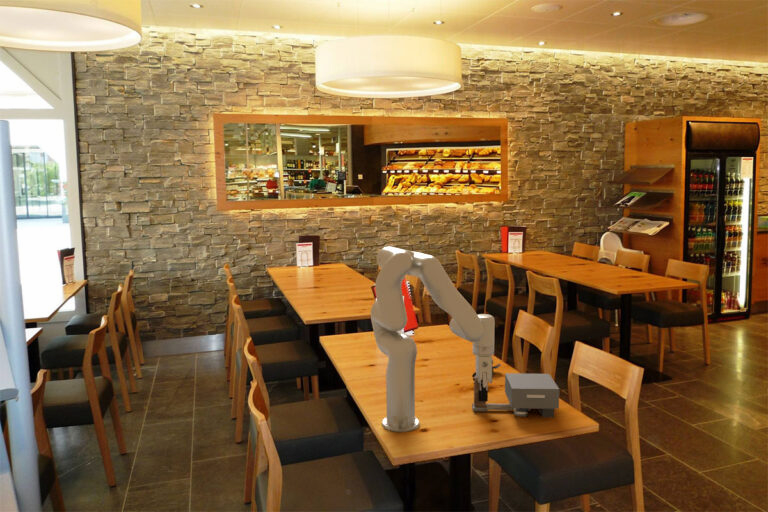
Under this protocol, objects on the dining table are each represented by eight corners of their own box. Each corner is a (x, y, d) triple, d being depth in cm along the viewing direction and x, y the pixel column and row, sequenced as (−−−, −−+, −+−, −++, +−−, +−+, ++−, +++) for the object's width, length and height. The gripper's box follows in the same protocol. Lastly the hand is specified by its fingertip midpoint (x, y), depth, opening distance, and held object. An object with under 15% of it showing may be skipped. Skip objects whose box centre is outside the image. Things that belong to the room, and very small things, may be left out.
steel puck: (529, 417, 207) (529, 411, 207) (514, 417, 207) (514, 411, 207) (526, 411, 212) (526, 406, 212) (512, 411, 212) (512, 406, 212)
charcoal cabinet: (558, 420, 203) (559, 389, 202) (511, 420, 204) (512, 389, 203) (548, 402, 220) (549, 373, 218) (504, 401, 221) (505, 373, 219)
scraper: (531, 412, 210) (532, 379, 209) (473, 411, 211) (474, 378, 209) (529, 408, 214) (530, 375, 213) (472, 406, 215) (472, 374, 213)
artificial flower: (467, 389, 239) (462, 364, 240) (488, 379, 258) (484, 356, 259) (488, 387, 234) (483, 361, 235) (508, 377, 253) (503, 354, 254)
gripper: (497, 356, 202) (496, 408, 204) (491, 343, 218) (490, 391, 220) (475, 356, 202) (474, 407, 205) (470, 343, 218) (469, 391, 220)
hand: (482, 399), depth 212 cm, fingers closed on scraper, 2 cm apart
